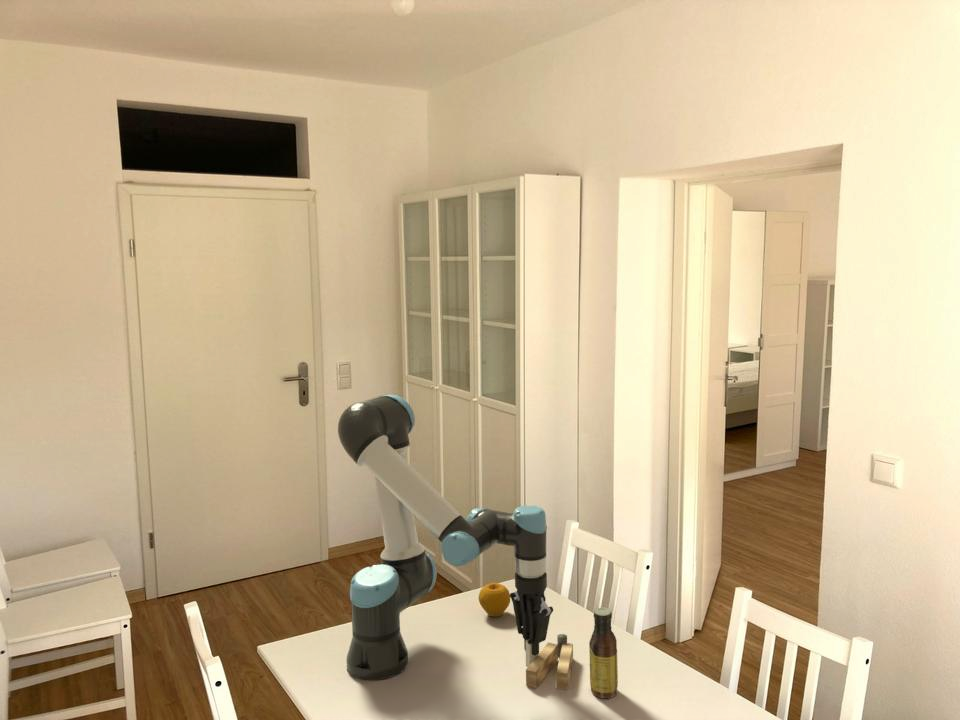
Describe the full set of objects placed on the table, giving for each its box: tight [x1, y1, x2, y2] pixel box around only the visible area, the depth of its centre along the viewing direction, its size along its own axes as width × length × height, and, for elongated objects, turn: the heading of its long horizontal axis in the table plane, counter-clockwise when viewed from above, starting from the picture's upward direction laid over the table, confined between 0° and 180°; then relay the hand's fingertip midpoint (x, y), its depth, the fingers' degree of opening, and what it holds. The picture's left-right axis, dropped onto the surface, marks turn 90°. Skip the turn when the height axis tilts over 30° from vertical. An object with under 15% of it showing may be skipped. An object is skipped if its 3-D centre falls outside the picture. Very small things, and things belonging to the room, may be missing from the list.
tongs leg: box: [525, 642, 559, 689], centre depth 186 cm, size 14×2×4 cm, turn 153°
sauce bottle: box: [588, 606, 619, 699], centre depth 176 cm, size 6×6×20 cm
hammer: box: [555, 633, 574, 691], centre depth 187 cm, size 16×4×5 cm, turn 168°
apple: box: [477, 582, 511, 618], centre depth 217 cm, size 9×9×9 cm
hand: (531, 665), depth 187 cm, fingers closed
